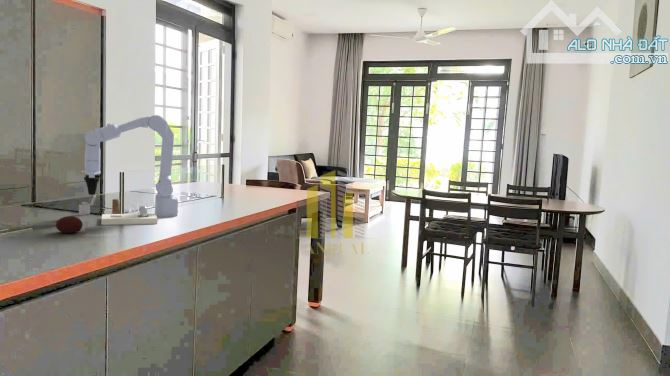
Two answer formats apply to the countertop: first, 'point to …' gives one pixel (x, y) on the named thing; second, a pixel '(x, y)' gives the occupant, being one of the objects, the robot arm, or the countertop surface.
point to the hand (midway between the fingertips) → (92, 193)
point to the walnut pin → (116, 206)
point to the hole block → (127, 219)
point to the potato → (69, 224)
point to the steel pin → (143, 211)
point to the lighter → (86, 206)
